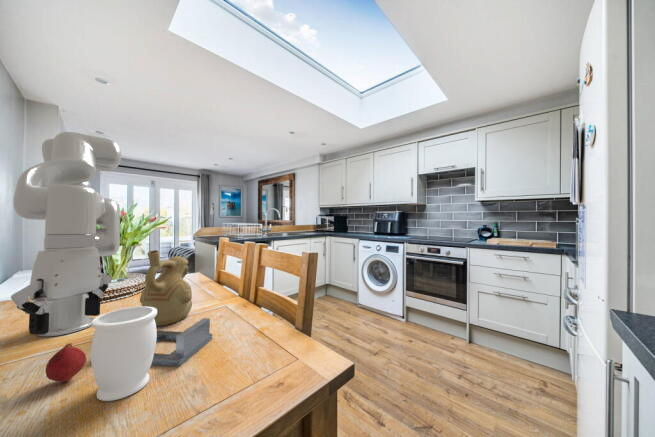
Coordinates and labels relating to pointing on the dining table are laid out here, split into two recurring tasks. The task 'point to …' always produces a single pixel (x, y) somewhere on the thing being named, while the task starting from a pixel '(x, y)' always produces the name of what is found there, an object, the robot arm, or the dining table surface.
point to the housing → (183, 343)
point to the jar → (123, 351)
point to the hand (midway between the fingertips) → (68, 323)
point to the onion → (65, 363)
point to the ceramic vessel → (167, 289)
